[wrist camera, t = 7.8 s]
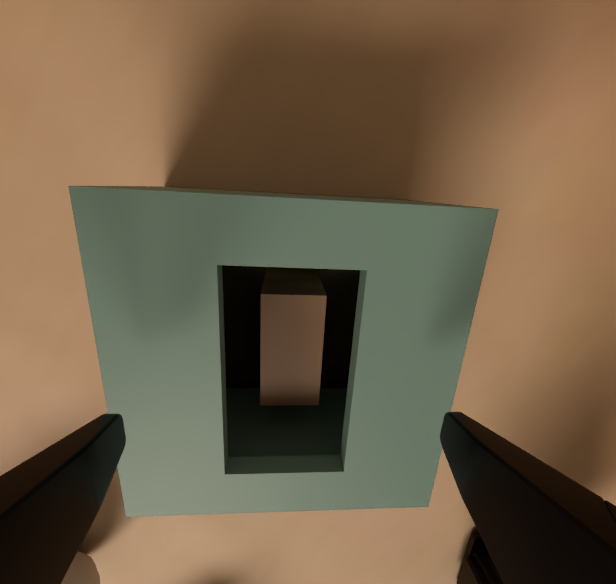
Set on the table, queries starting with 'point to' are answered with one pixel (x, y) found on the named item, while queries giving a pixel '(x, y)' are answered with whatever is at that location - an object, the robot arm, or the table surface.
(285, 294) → the rectangular block
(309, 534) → the table surface
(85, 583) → the donut
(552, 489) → the robot arm
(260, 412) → the box
